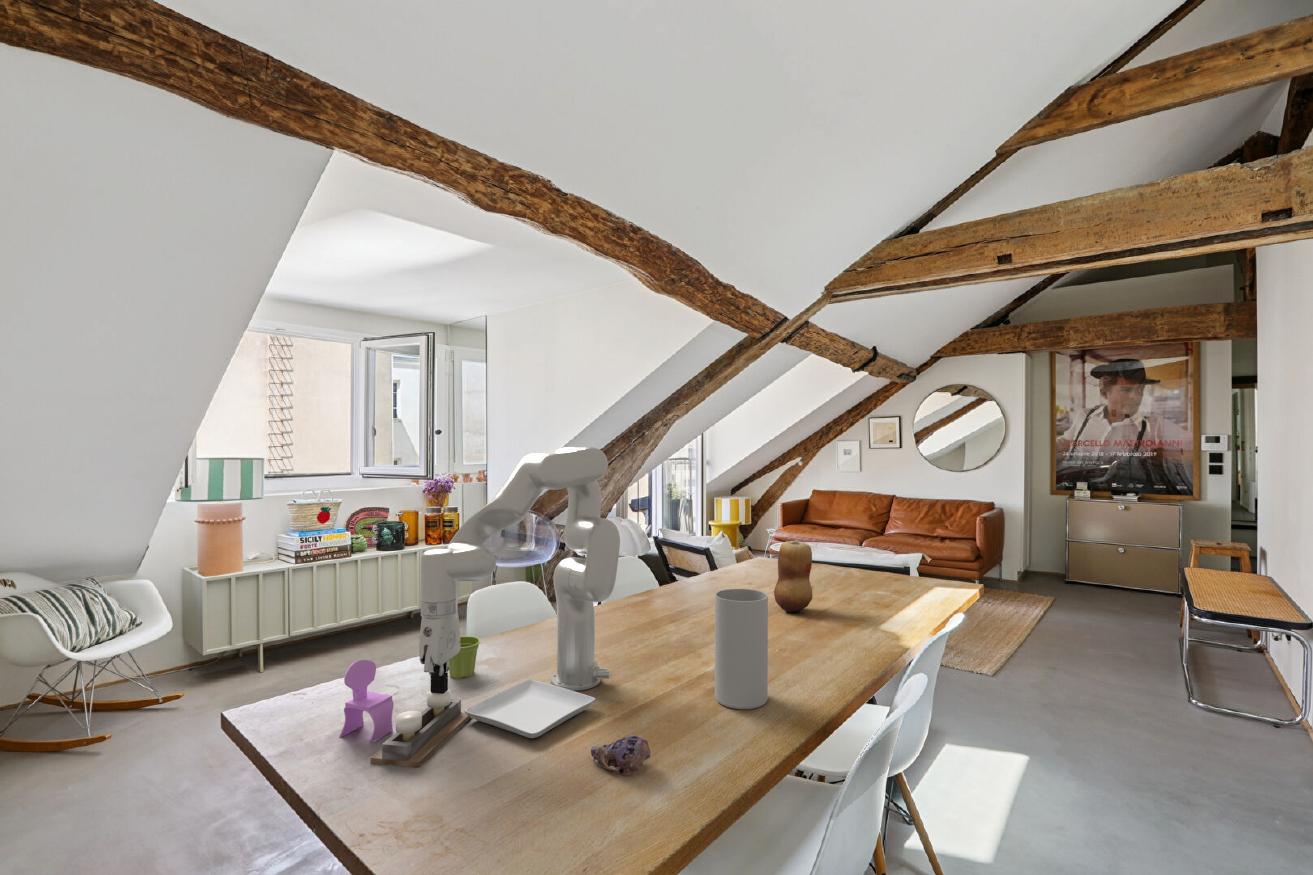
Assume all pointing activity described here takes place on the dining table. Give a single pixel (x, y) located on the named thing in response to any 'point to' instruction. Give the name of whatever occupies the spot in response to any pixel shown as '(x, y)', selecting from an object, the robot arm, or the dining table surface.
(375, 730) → the toy chair
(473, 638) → the plant pot
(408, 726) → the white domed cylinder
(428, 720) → the mount
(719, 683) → the cylinder vase
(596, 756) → the grey-brown rounded lump
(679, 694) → the dining table surface
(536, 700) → the salad plate
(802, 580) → the butternut squash
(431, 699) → the plunger far
